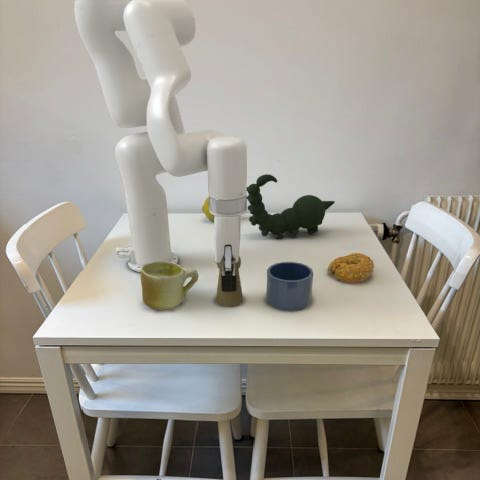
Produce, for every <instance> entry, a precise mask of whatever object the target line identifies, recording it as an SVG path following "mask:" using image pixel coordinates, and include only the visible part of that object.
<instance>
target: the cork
mask: <svg viewBox="0 0 480 480" xmlns="http://www.w3.org/2000/svg"><path fill="white" fill-rule="evenodd" d="M224 260H225V258H224ZM231 260H233V258H231ZM241 265H242V259H241V256H239V258H238V262H237V263H235V274H236V284H237V290H236V291H235V292H223V291H222V289H221V274H222V260H221V262H218V263H216V266H217V268H218V279H217V286H216V287H217V288H216V297H215V302H216V303H217V304H218V305H219V306H222V307H226V308H227V307H228V308H231V307H236V306H239V305H241V304H242V303H243V302H244V297H243V290H242V283H241V277H240V270H239V269H240V267H241ZM231 267H233V264H231Z"/></svg>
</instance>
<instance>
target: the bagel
mask: <svg viewBox="0 0 480 480" xmlns="http://www.w3.org/2000/svg"><path fill="white" fill-rule="evenodd" d="M374 270H375V263H374V260H373V259H371V257H370V256H368V255H367V254H365V253H360V252H354V253H353V252H352V253H350V254H347V255H345V256H339V257H336V258H335V259H333V260H332V261H331V262H330V263H329V265H328V266H327V272H328V273H329V274H330V275H332V276H334V277H336V278H337V280H340V281H342V282H345V283H349V284H350V283H361V282H363V281H365V280H367V279H368V278H369V277H370V276H372V274H373V273H374Z"/></svg>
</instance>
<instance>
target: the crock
mask: <svg viewBox="0 0 480 480" xmlns="http://www.w3.org/2000/svg"><path fill="white" fill-rule="evenodd" d="M313 283H314V270H313V268H311V267H310V266H309V265H307V264H304V263H301V262H297V261H296V262H295V261H281V262H275V263H274V264H272V265H269V267H268V268H267V269H266V290H265V291H266V292H265V293H266V294H265V295H266V302H267V304H268V305H269V306H270V307H271V308H275V309H277V310H281V311H285V312H286V311H287V312H293V311H300V310H303V309H305V308H307V307H309V306H310V304H311V302H312V297H313V296H312V294H313Z"/></svg>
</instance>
